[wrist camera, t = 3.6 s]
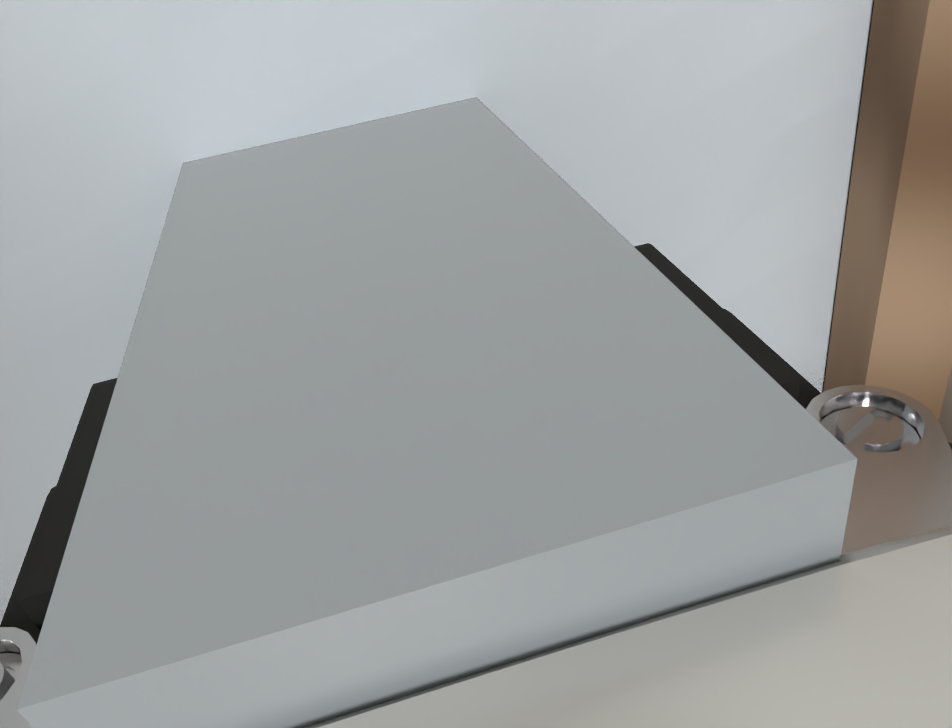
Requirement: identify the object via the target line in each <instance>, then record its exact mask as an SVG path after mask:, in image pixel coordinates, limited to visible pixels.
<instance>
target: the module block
mask: <svg viewBox="0 0 952 728" xmlns="http://www.w3.org/2000/svg"><path fill="white" fill-rule="evenodd" d="M856 465H857V458H856V457H855V456H854V455H853V454H852V453H851V452H850V451H849V450H848V449H847V448H846V447H845V446H843V445H842V444H841V443H840V442H839V441H838V440H837V439H836V438H835V437H834V436H833V435H832V434H831V433H830V432H829V431H828V430H827V429H826V428H824V427H823V426H822V425H821V424H820V423H819V422H818V421H817V420H816V419H815V418H814V417H813V416H812V415H811V414H810V413H809V412H808V411H807V410H806V409H804V408H803V407H802V406H801V405H800V404H799V403H798V402H797V401H796V400H795V399H794V398H793V397H792V396H791V395H790V394H789V393H788V392H787V391H786V390H784V389H783V388H782V387H781V386H780V385H779V384H778V383H777V382H776V381H775V380H774V379H773V378H772V377H771V376H770V375H769V374H768V373H767V372H765V371H764V370H763V369H762V368H761V367H760V366H759V365H758V364H757V363H756V362H755V361H754V360H753V359H752V358H751V357H750V356H749V355H748V354H747V353H745V352H744V351H743V350H742V349H741V348H740V347H739V346H738V345H737V344H736V343H735V342H734V341H733V340H732V339H731V338H730V337H729V336H728V335H726V334H725V333H724V332H723V331H722V330H721V329H720V328H719V327H718V326H717V325H716V324H715V323H714V322H713V321H712V320H711V319H710V318H709V317H708V316H706V315H705V314H704V313H703V312H702V311H701V310H700V309H699V308H698V307H697V306H696V305H695V304H694V303H693V302H692V301H691V300H690V299H689V298H688V297H686V296H685V295H684V294H683V293H682V292H681V291H680V290H679V289H678V288H677V287H676V286H675V285H674V284H673V283H672V282H671V281H670V280H669V279H667V278H666V277H665V276H664V275H663V274H662V273H661V272H660V271H659V270H658V269H657V268H656V267H655V266H654V265H653V264H652V263H651V262H650V261H649V260H647V259H646V258H645V257H644V256H643V255H642V254H641V253H640V252H639V251H638V250H637V249H636V248H635V247H634V246H633V245H632V244H631V243H630V242H629V241H627V240H626V239H625V238H624V237H623V236H622V235H621V234H620V233H619V232H618V231H617V230H616V229H615V228H614V227H613V226H612V225H611V224H610V223H608V222H607V221H606V220H605V219H604V218H603V217H602V216H601V215H600V214H599V213H598V212H597V211H596V210H595V209H594V208H593V207H592V206H591V205H590V204H588V203H587V202H586V201H585V200H584V199H583V198H582V197H581V196H580V195H579V194H578V193H577V192H576V191H575V190H574V189H573V188H572V187H571V186H569V185H568V184H567V183H566V182H565V181H564V180H563V179H562V178H561V177H560V176H559V175H558V174H557V173H556V172H555V171H554V170H553V169H552V168H551V167H549V166H548V165H547V164H546V163H545V162H544V161H543V160H542V159H541V158H540V157H539V156H538V155H537V154H536V153H535V152H534V151H533V150H532V149H531V148H529V147H528V146H527V145H526V144H525V143H524V142H523V141H522V140H521V139H520V138H519V137H518V136H517V135H516V134H515V133H514V132H513V131H512V130H510V129H509V128H508V127H507V126H506V125H505V124H504V123H503V122H502V121H501V120H500V119H499V118H498V117H497V116H496V115H495V114H494V113H493V112H492V111H490V110H489V109H488V108H487V107H486V106H485V105H484V104H483V103H482V102H481V101H480V100H479V99H478V98H477V97H475V98H470V99H466V100H461V101H457V102H453V103H448V104H444V105H439V106H435V107H430V108H426V109H421V110H417V111H412V112H408V113H404V114H399V115H395V116H390V117H386V118H381V119H377V120H372V121H368V122H363V123H359V124H355V125H350V126H346V127H341V128H337V129H332V130H328V131H323V132H319V133H314V134H310V135H306V136H301V137H297V138H292V139H288V140H283V141H279V142H274V143H270V144H265V145H261V146H257V147H252V148H248V149H243V150H239V151H234V152H230V153H225V154H221V155H216V156H212V157H208V158H203V159H199V160H194V161H190V162H185V163H183V165H182V168H181V171H180V175H179V178H178V181H177V185H176V188H175V191H174V194H173V198H172V201H171V204H170V208H169V211H168V214H167V218H166V221H165V224H164V227H163V231H162V234H161V237H160V241H159V244H158V247H157V250H156V254H155V257H154V260H153V264H152V267H151V270H150V273H149V277H148V280H147V283H146V287H145V290H144V293H143V296H142V300H141V303H140V306H139V310H138V313H137V316H136V319H135V323H134V326H133V329H132V333H131V336H130V339H129V343H128V346H127V349H126V352H125V356H124V359H123V362H122V366H121V369H120V372H119V375H118V379H117V382H116V385H115V389H114V392H113V395H112V398H111V402H110V405H109V408H108V412H107V415H106V418H105V421H104V425H103V428H102V431H101V435H100V438H99V441H98V444H97V448H96V451H95V454H94V458H93V461H92V464H91V468H90V471H89V474H88V477H87V481H86V484H85V487H84V491H83V494H82V497H81V500H80V504H79V507H78V510H77V514H76V517H75V520H74V523H73V527H72V530H71V533H70V537H69V540H68V543H67V546H66V550H65V553H64V556H63V560H62V563H61V566H60V570H59V573H58V576H57V579H56V583H55V586H54V589H53V593H52V596H51V599H50V602H49V606H48V609H47V612H46V616H45V619H44V622H43V625H42V629H41V632H40V635H39V639H38V642H37V645H36V648H35V652H34V655H33V658H32V662H31V665H30V668H29V671H28V675H27V678H26V681H25V685H24V688H23V691H22V695H21V698H20V701H19V704H18V708H17V710H18V711H19V712H20V714H21V715H22V716H23V717H24V718H25V719H26V720H27V722H28V723H29V724H30V725H31V726H32V727H33V728H305V727H308V726H311V725H314V724H317V723H321V722H324V721H327V720H330V719H333V718H337V717H340V716H343V715H346V714H349V713H352V712H356V711H359V710H362V709H365V708H368V707H372V706H375V705H378V704H381V703H384V702H387V701H391V700H394V699H397V698H400V697H403V696H407V695H410V694H413V693H416V692H419V691H422V690H426V689H429V688H432V687H435V686H438V685H442V684H445V683H448V682H451V681H454V680H457V679H461V678H464V677H467V676H470V675H473V674H477V673H480V672H483V671H486V670H489V669H492V668H496V667H499V666H502V665H505V664H508V663H511V662H515V661H518V660H521V659H524V658H527V657H531V656H534V655H537V654H540V653H543V652H546V651H550V650H553V649H556V648H559V647H562V646H566V645H569V644H572V643H575V642H578V641H582V640H585V639H588V638H591V637H594V636H598V635H601V634H604V633H607V632H610V631H613V630H617V629H620V628H623V627H626V626H629V625H633V624H636V623H639V622H642V621H645V620H649V619H652V618H655V617H658V616H661V615H664V614H668V613H671V612H674V611H677V610H680V609H684V608H687V607H690V606H693V605H696V604H700V603H703V602H706V601H709V600H713V599H716V598H719V597H722V596H726V595H729V594H732V593H735V592H739V591H742V590H745V589H748V588H752V587H755V586H758V585H761V584H765V583H768V582H771V581H774V580H778V579H781V578H784V577H787V576H791V575H794V574H797V573H800V572H804V571H807V570H810V569H814V568H817V567H820V566H823V565H827V564H830V563H833V562H836V561H840V557H841V551H842V545H843V540H844V534H845V528H846V522H847V516H848V511H849V505H850V499H851V493H852V488H853V482H854V476H855V470H856Z"/></svg>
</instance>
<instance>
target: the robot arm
mask: <svg viewBox="0 0 952 728" xmlns="http://www.w3.org/2000/svg"><path fill="white" fill-rule="evenodd" d="M635 248H636V249H637V250H638V251H639V252H640V253H641V254H642V255H643V256H644V257H645V258H646V259H647V260H649V261H650V262H651V263H652V264H653V265H654V266H655V267H656V268H657V269H658V270H659V271H660V272H661V273H662V274H663V275H664V276H665V277H666V278H667V279H669V280H670V281H671V282H672V283H673V284H674V285H675V286H676V287H677V288H678V289H679V290H680V291H681V292H682V293H683V294H684V295H685V296H686V297H688V298H689V299H690V300H691V301H692V302H693V303H694V304H695V305H696V306H697V307H698V308H699V309H700V310H701V311H702V312H703V313H704V314H705V315H706V316H708V317H709V318H710V319H711V320H712V321H713V322H714V323H715V324H716V325H717V326H718V327H719V328H720V329H721V330H722V331H723V332H724V333H725V334H726V335H728V336H729V337H730V338H731V339H732V340H733V341H734V342H735V343H736V344H737V345H738V346H739V347H740V348H741V349H742V350H743V351H744V352H745V353H747V354H748V355H749V356H750V357H751V358H752V359H753V360H754V361H755V362H756V363H757V364H758V365H759V366H760V367H761V368H762V369H763V370H764V371H765V372H767V373H768V374H769V375H770V376H771V377H772V378H773V379H774V380H775V381H776V382H777V383H778V384H779V385H780V386H781V387H782V388H783V389H784V390H786V391H787V392H788V393H789V394H790V395H791V396H792V397H793V398H794V399H795V400H796V401H797V402H798V403H799V404H800V405H801V406H802V407H803V408H804V409H806V410H807V411H808V412H809V413H810V414H811V415H812V416H813V417H814V418H815V419H816V420H817V421H818V422H819V423H820V424H821V425H822V426H823V427H824V428H826V429H827V430H828V431H829V432H830V433H831V434H832V435H833V436H834V437H835V438H836V439H837V440H838V441H839V442H840V443H841V444H842V445H843V446H845V447H846V448H847V449H848V450H849V451H850V452H851V453H852V454H853V455H854V456H855V457H856V458H857V465H856V470H855V476H854V482H853V488H852V493H851V499H850V505H849V511H848V516H847V522H846V528H845V534H844V540H843V545H842V551H841V557H840V561H836V562H833V563H830V564H827V565H823V566H820V567H817V568H814V569H810V570H807V571H804V572H800V573H797V574H794V575H791V576H787V577H784V578H781V579H778V580H774V581H771V582H768V583H765V584H761V585H758V586H755V587H752V588H748V589H745V590H742V591H739V592H735V593H732V594H729V595H726V596H722V597H719V598H716V599H713V600H709V601H706V602H703V603H700V604H696V605H693V606H690V607H687V608H684V609H680V610H677V611H674V612H671V613H668V614H664V615H661V616H658V617H655V618H652V619H649V620H645V621H642V622H639V623H636V624H633V625H629V626H626V627H623V628H620V629H617V630H613V631H610V632H607V633H604V634H601V635H598V636H594V637H591V638H588V639H585V640H582V641H578V642H575V643H572V644H569V645H566V646H562V647H559V648H556V649H553V650H550V651H546V652H543V653H540V654H537V655H534V656H531V657H527V658H524V659H521V660H518V661H515V662H511V663H508V664H505V665H502V666H499V667H496V668H492V669H489V670H486V671H483V672H480V673H477V674H473V675H470V676H467V677H464V678H461V679H457V680H454V681H451V682H448V683H445V684H442V685H438V686H435V687H432V688H429V689H426V690H422V691H419V692H416V693H413V694H410V695H407V696H403V697H400V698H397V699H394V700H391V701H387V702H384V703H381V704H378V705H375V706H372V707H368V708H365V709H362V710H359V711H356V712H352V713H349V714H346V715H343V716H340V717H337V718H333V719H330V720H327V721H324V722H321V723H317V724H314V725H311V726H308V727H305V728H952V443H948V441H947V439H946V437H945V435H944V432H943V430H942V428H941V426H940V424H939V421H938V420H937V419H936V417H935V416H934V415H933V413H932V412H931V410H930V409H929V408H927V407H926V406H924V405H923V404H922V403H920V402H919V401H918V400H916V399H914V398H912V397H910V396H908V395H905V394H903V393H901V392H899V391H895V390H891V389H887V388H883V387H879V386H868V385H850V386H839V387H836V388H833V389H830V390H827V391H824V392H822V393H820V392H819V391H818V390H817V389H816V388H815V387H814V386H812V385H811V384H810V383H809V382H808V381H807V380H806V379H805V378H803V377H802V376H801V375H800V374H799V373H798V372H797V371H796V370H794V369H793V368H792V367H791V366H790V365H789V364H788V363H787V362H785V361H784V360H783V359H782V358H781V357H780V356H779V355H778V354H777V353H775V352H774V351H773V350H772V349H771V348H770V347H769V346H768V345H766V344H765V343H764V342H763V341H762V340H761V339H760V338H759V337H757V336H756V335H755V334H754V333H753V332H752V331H751V330H750V329H749V328H747V327H746V326H745V325H744V324H743V323H742V322H741V321H740V320H738V319H737V318H736V317H735V316H734V315H733V314H732V313H730V312H729V311H727V310H726V309H722V308H721V307H720V306H719V305H718V304H717V303H716V302H715V301H714V300H712V299H711V298H710V297H709V296H708V295H707V294H706V293H705V292H704V291H702V290H701V289H700V288H699V287H698V286H697V285H696V284H695V283H694V282H692V281H691V280H690V279H689V278H688V277H687V276H686V275H685V274H684V273H682V272H681V271H680V270H679V269H678V268H677V267H676V266H675V265H674V264H672V263H671V262H670V261H669V260H668V259H667V258H666V257H665V256H664V255H662V254H661V253H660V252H659V251H658V250H657V249H656V248H655V247H654V246H652V245H651V244H649V243H647V244H643V245H639V246H635ZM117 379H118V378H115V379H111V380H107V381H103V382H99V383H96V384H93V386H92V387H91V390H90V393H89V396H88V398H87V401H86V404H85V407H84V410H83V413H82V415H81V418H80V421H79V424H78V427H77V430H76V432H75V435H74V438H73V441H72V444H71V447H70V449H69V452H68V455H67V458H66V461H65V464H64V466H63V469H62V472H61V475H60V478H59V481H58V483H57V486H55V487H54V488H52V489H51V491H50V492H49V494H48V496H47V498H46V501H45V504H44V506H43V509H42V512H41V515H40V518H39V520H38V523H37V526H36V529H35V531H34V534H33V537H32V540H31V542H30V545H29V548H28V551H27V553H26V556H25V559H24V562H23V564H22V567H21V570H20V573H19V575H18V578H17V581H16V584H15V586H14V589H13V592H12V595H11V598H10V600H9V603H8V606H7V609H6V611H5V614H4V617H3V620H2V622H1V625H0V728H33V727H32V726H31V725H30V724H29V723H28V722H27V720H26V719H25V718H24V717H23V716H22V715H21V714H20V712H19V711H18V710H17V708H18V704H19V701H20V698H21V695H22V691H23V688H24V685H25V681H26V678H27V675H28V671H29V668H30V665H31V662H32V658H33V655H34V652H35V648H36V645H37V642H38V639H39V635H40V632H41V629H42V625H43V622H44V619H45V616H46V612H47V609H48V606H49V602H50V599H51V596H52V593H53V589H54V586H55V583H56V579H57V576H58V573H59V570H60V566H61V563H62V560H63V556H64V553H65V550H66V546H67V543H68V540H69V537H70V533H71V530H72V527H73V523H74V520H75V517H76V514H77V510H78V507H79V504H80V500H81V497H82V494H83V491H84V487H85V484H86V481H87V477H88V474H89V471H90V468H91V464H92V461H93V458H94V454H95V451H96V448H97V444H98V441H99V438H100V435H101V431H102V428H103V425H104V421H105V418H106V415H107V412H108V408H109V405H110V402H111V398H112V395H113V392H114V389H115V385H116V382H117Z"/></svg>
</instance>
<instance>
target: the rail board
mask: <svg viewBox="0 0 952 728" xmlns="http://www.w3.org/2000/svg"><path fill="white" fill-rule="evenodd" d="M850 385H868V386H879V387H883V388H887V389H891V390H895V391H899V392H901V393H903V394H905V395H908V396H910V397H912V398H914V399H916V400H918V401H919V402H920V403H922V404H923V405H924V406H926V407H927V408H929V409H930V410H931V412H932V413H933V415H934V416H935V417H936V419H937V420H938V421H939V424H940V426H941V428H942V430H943V432H944V435H945V437H946V439H947V441H948V443H952V0H874V7H873V14H872V22H871V30H870V37H869V45H868V53H867V60H866V68H865V75H864V83H863V91H862V98H861V106H860V114H859V121H858V129H857V137H856V144H855V152H854V160H853V167H852V175H851V183H850V190H849V198H848V206H847V213H846V221H845V229H844V236H843V244H842V252H841V259H840V267H839V275H838V282H837V290H836V298H835V305H834V313H833V321H832V328H831V336H830V344H829V351H828V359H827V366H826V374H825V382H824V389H823V392H824V391H827V390H830V389H833V388H836V387H839V386H850Z"/></svg>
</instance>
